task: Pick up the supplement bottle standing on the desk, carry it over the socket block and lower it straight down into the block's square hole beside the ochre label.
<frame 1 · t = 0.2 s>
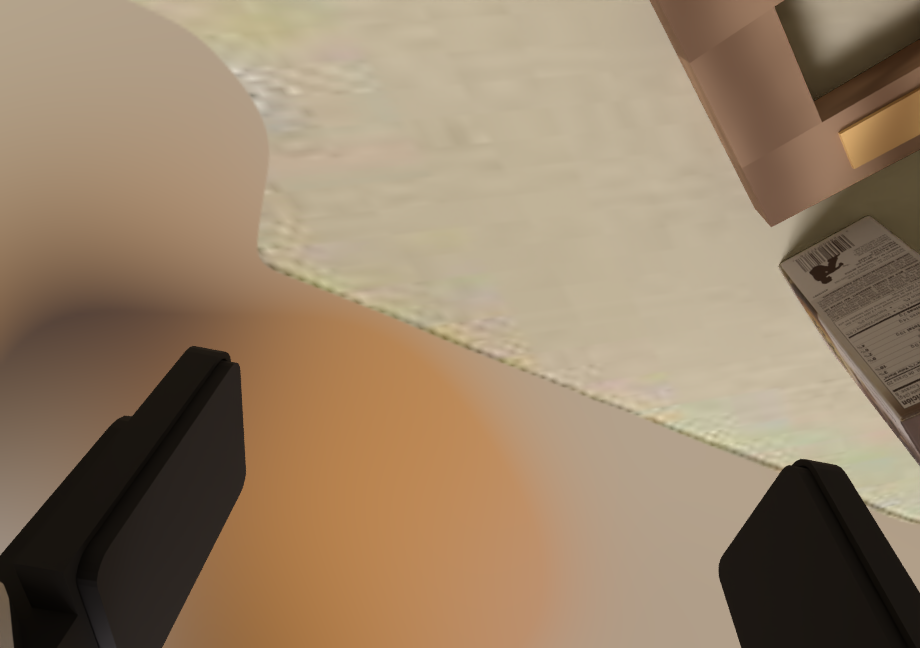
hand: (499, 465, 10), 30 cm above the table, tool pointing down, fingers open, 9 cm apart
socket block: (842, 17, 32), on the table
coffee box: (846, 283, 41), on the table
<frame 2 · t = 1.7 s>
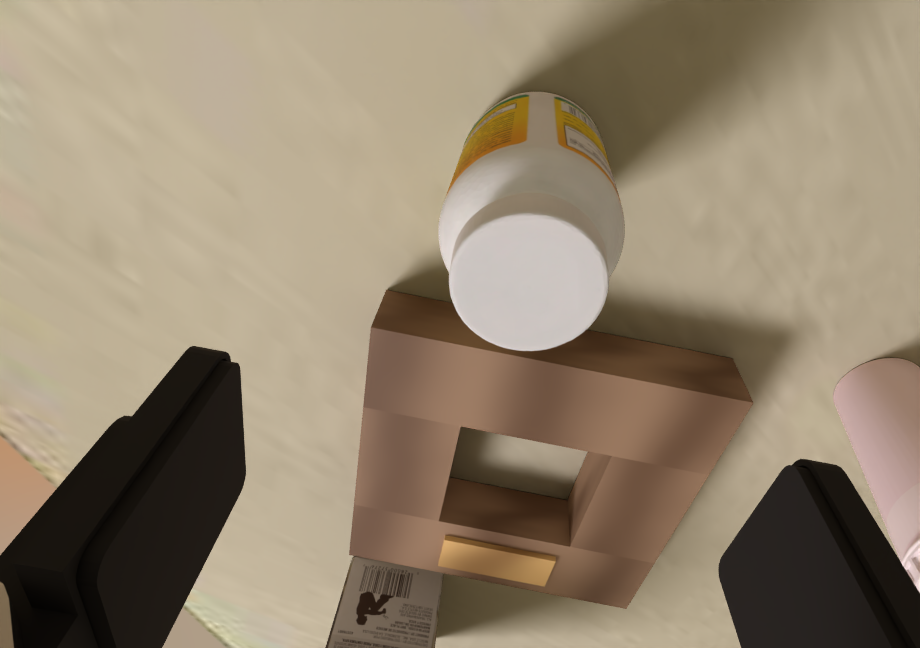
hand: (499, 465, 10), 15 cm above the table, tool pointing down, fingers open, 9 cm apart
smoothie: (876, 387, 27), on the table
supplement bottle: (531, 160, 22), on the table
socket block: (520, 445, 31), on the table
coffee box: (396, 596, 41), on the table
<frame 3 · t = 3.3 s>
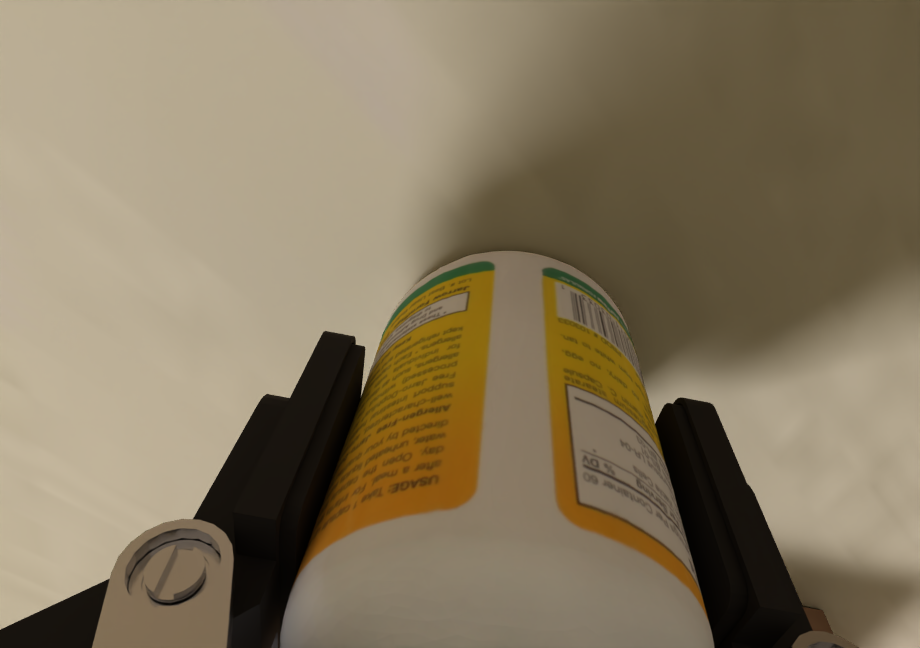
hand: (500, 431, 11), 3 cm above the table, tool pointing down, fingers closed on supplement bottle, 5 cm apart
supplement bottle: (503, 346, 13), on the table, touching gripper
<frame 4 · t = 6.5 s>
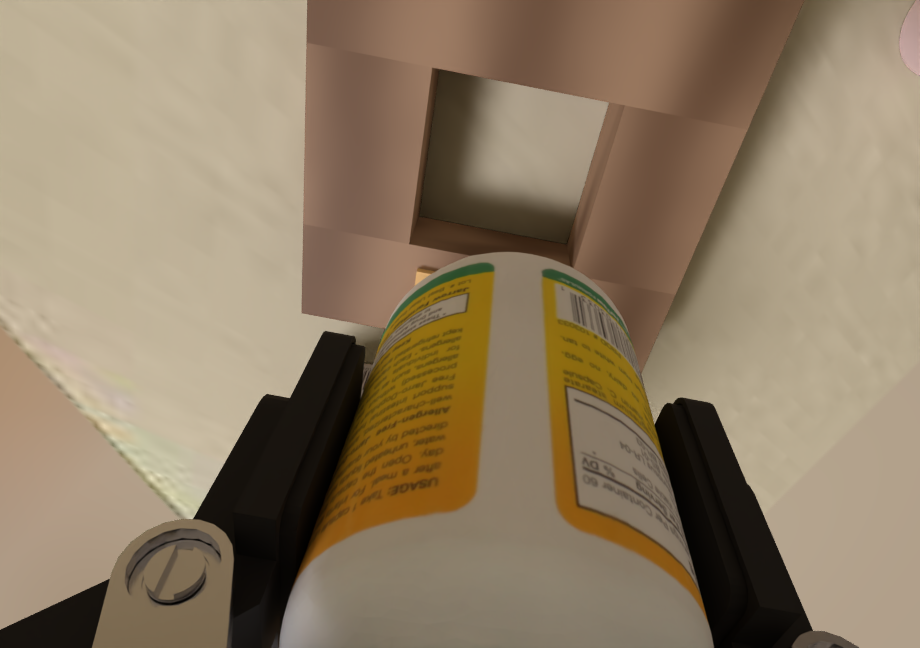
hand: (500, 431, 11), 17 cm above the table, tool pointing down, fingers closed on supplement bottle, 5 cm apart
supplement bottle: (503, 347, 13), point 14 cm above the table, touching gripper
socket block: (509, 157, 25), on the table
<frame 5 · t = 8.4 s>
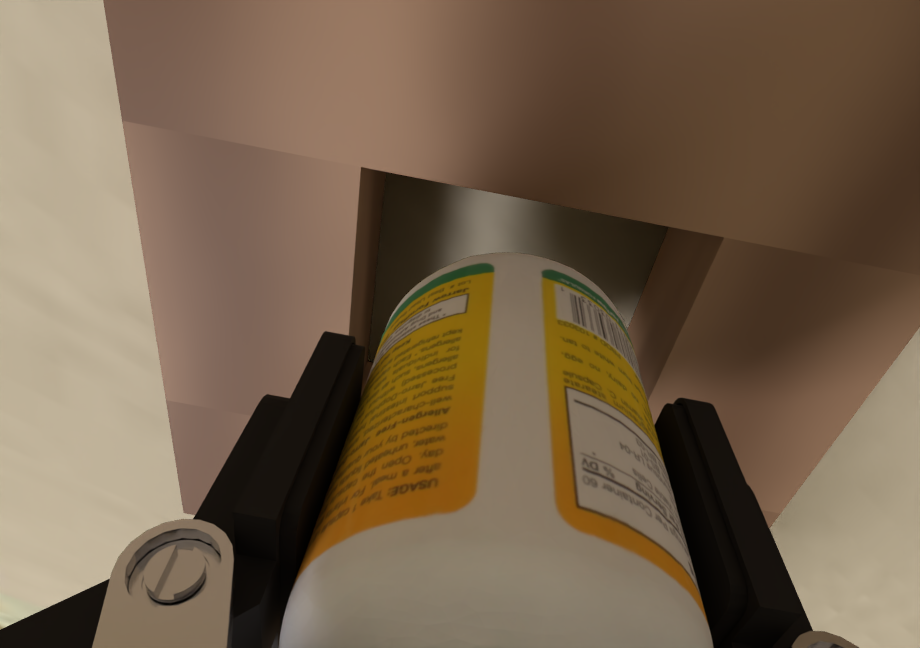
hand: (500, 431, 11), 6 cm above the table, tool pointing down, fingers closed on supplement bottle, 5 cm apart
supplement bottle: (502, 348, 13), point 3 cm above the table, touching gripper
socket block: (507, 282, 15), on the table
when the fingers open (4 cm above the table, at t = 10.0 s): supplement bottle drops 1 cm, resting in socket block.
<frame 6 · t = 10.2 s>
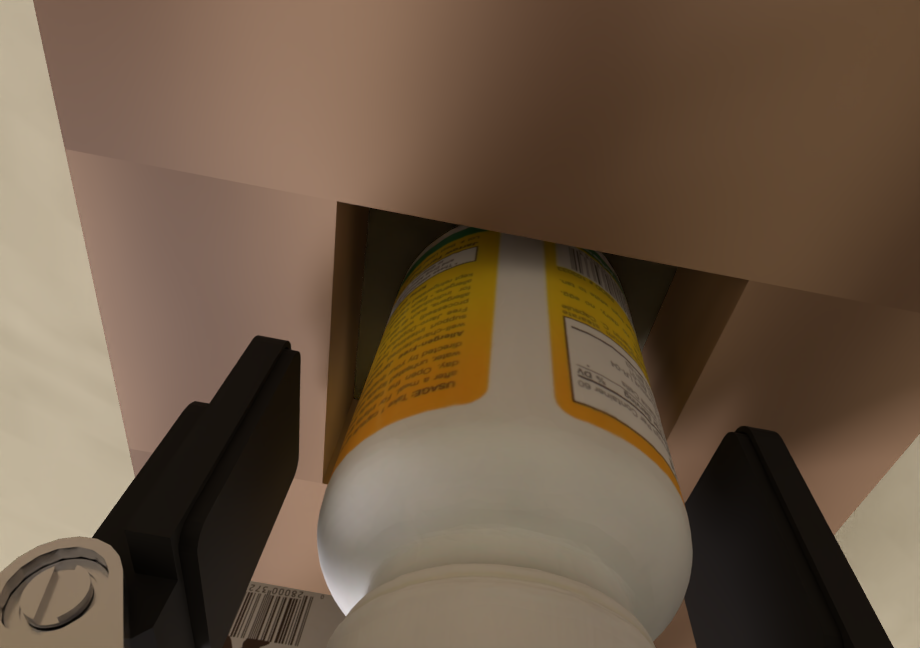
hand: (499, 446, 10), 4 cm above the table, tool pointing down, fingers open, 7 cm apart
supplement bottle: (507, 306, 14), resting in socket block
socket block: (504, 317, 14), on the table
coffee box: (296, 636, 24), on the table
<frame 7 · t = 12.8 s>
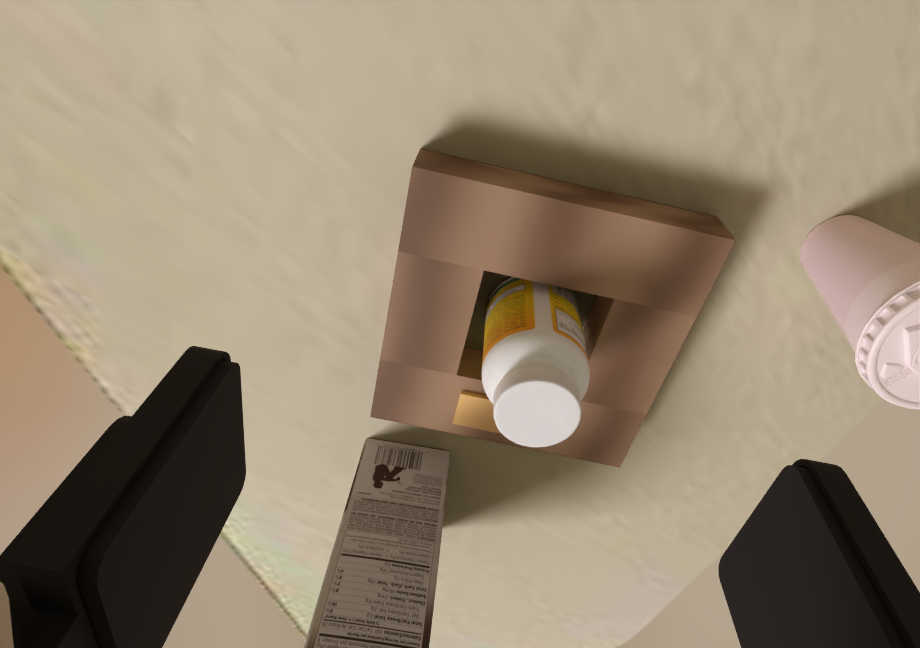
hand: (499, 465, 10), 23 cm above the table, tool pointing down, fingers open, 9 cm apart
smoothie: (835, 245, 31), on the table
supplement bottle: (530, 306, 35), resting in socket block
socket block: (529, 311, 34), on the table
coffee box: (403, 483, 43), on the table
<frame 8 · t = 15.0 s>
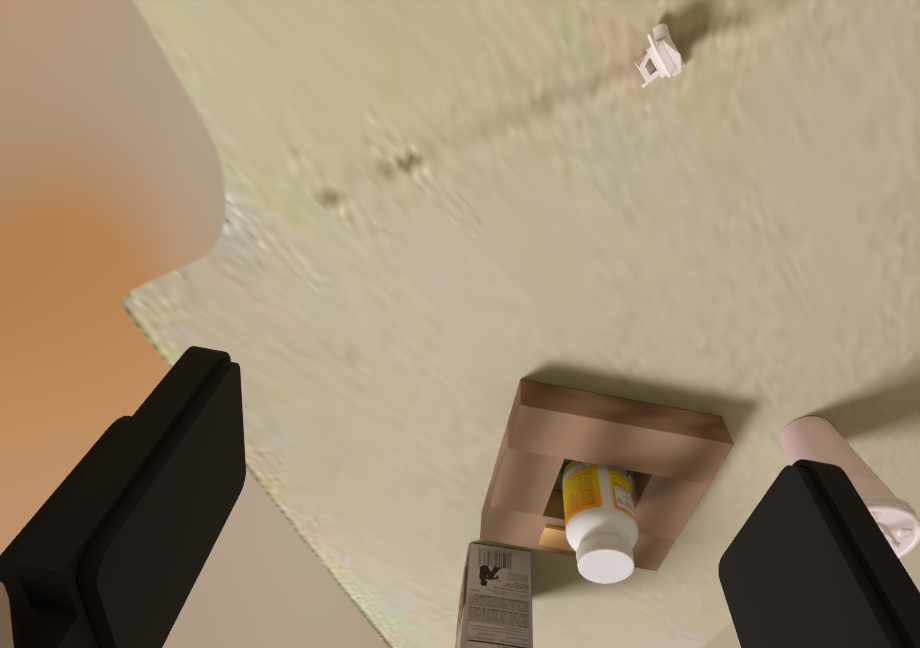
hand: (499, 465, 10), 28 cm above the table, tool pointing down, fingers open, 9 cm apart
adhesive hook: (631, 62, 33), on the table
smoothie: (805, 432, 46), on the table
supplement bottle: (592, 464, 49), resting in socket block
socket block: (591, 468, 49), on the table
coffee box: (494, 571, 59), on the table
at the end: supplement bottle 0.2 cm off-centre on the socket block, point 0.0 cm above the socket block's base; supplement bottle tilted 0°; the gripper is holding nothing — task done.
